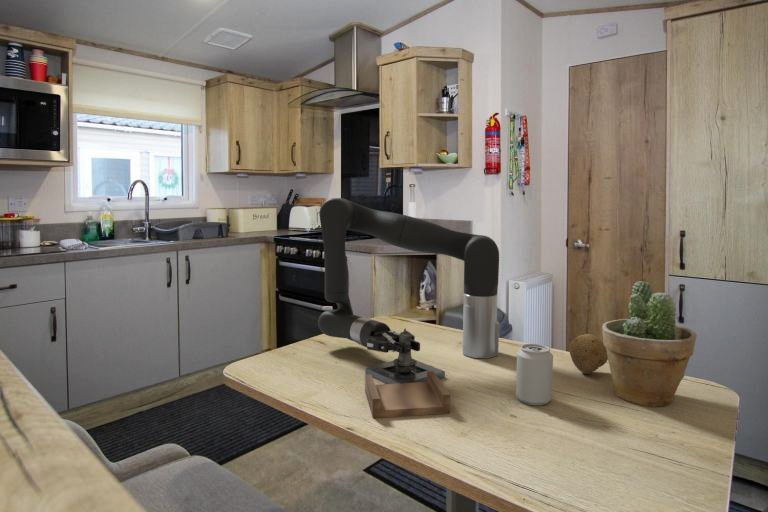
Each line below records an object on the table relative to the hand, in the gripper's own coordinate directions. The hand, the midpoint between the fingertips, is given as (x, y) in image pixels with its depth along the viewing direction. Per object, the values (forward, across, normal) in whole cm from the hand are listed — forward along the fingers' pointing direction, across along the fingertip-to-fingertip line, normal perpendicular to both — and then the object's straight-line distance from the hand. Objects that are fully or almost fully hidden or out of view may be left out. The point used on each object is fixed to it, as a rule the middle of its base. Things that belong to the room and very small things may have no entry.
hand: (412, 348), depth 124 cm
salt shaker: (-3, 0, +8) cm, 8 cm away
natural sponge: (+25, +37, +8) cm, 45 cm away
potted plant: (+40, +33, +8) cm, 53 cm away
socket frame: (-3, 0, +8) cm, 8 cm away
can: (+26, +12, +8) cm, 30 cm away
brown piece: (+10, -11, +8) cm, 16 cm away
